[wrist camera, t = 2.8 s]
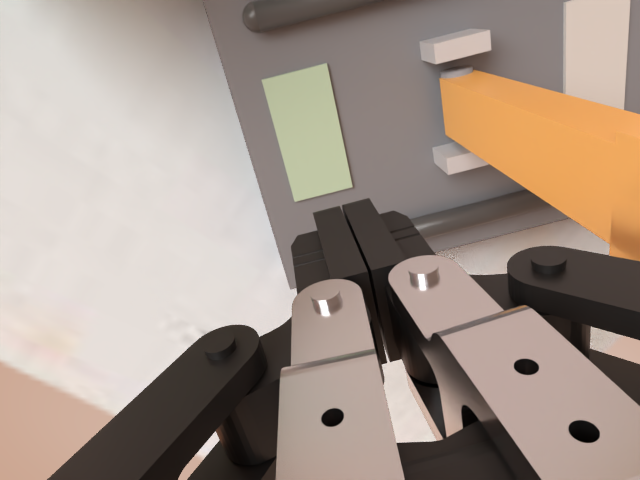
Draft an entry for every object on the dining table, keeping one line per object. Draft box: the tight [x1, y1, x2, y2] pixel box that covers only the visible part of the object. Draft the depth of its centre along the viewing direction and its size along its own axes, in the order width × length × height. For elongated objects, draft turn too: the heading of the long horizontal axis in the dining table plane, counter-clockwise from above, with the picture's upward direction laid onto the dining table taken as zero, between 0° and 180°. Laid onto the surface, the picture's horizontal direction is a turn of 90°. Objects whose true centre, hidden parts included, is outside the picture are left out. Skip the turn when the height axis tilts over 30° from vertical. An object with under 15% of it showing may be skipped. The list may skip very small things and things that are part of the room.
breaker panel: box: [203, 0, 640, 289], centre depth 23 cm, size 20×16×4 cm
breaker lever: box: [439, 65, 640, 261], centre depth 16 cm, size 2×3×14 cm, turn 13°
